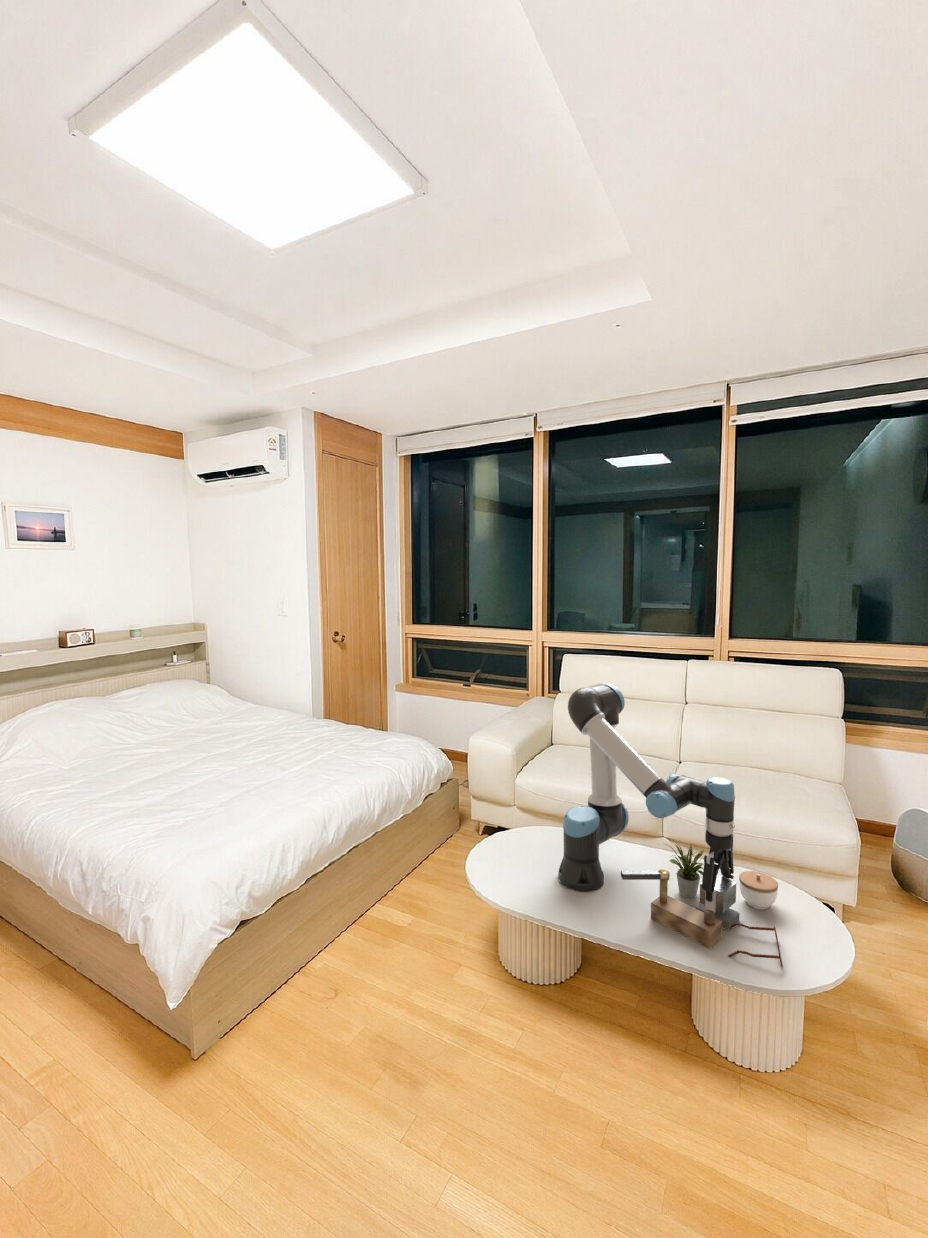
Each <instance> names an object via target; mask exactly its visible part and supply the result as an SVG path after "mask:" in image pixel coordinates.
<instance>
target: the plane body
mask: <svg viewBox="0 0 928 1238" xmlns="http://www.w3.org/2000/svg"><path fill="white" fill-rule="evenodd" d="M668 882H669V880H667V881H664V880H659V896H658V897H657V898H655V899H654V900H652V901H651V903H650V919H651V920H653V921H655V922H657V923H659V924H660V925H663V926H665V927H667V928H668V929H671V930H672V931H674V932H676V933H679V934H680V935H682V936H684V937H686V938H688V939H690V940H692V941H694V942H696V943H698V944H700V945H701V946H704V947H706V948H707V949H710V950H711V949H712V948H713V947H714V946H715V945H716V944H717V943H718V942H719V941H720V940H721V939H722V936H723V928H722V921H721V920H719V919H717V918H715V913H714V912H713V911H711V910H705V911H704V912H702V911H700V910H697V909H695V908H696V907H693V906H691V905H689V904H686V903H685V902H682V901H680V900H678V899H676V898H674V897H673V896H670V895H668V889H669V888H668V886H669V885H668Z"/></svg>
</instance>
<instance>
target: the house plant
mask: <svg viewBox="0 0 928 1238" xmlns="http://www.w3.org/2000/svg"><path fill="white" fill-rule="evenodd" d="M664 845H666V846H667V847H669V848H670V849H671V850H672V851H673V852H674V854H672V855H670V856H669V857H674V858H671V859H669V860H668V861H669V862H670V863H671V864H674V865H677V866H678V868H679V869H678V868H677V871H676V873H675V875H676V880H677V886H678V892H679V894H680V896H682V897H684V898H687V899H694V898H696V897H697V893H698V890H699V887H700V880H701V876H703V870H704V867H702V866H704V862H700V861H702V860H704V857H703V858H701V857H702V856H703V854H704V853H705V852H706V851H707V850H708V848H705V849H702V850H701V851H699V852H697V851H696V852H694V853H693V846H692V843H691V844H690V845H689V847H688V850H687V854H684V852H683V848H682V847H681V846H680V844H677V843H676V844H675V843H674V846H675V848H677V851H678V853H679V855H678V853H677V852H676V850H675V849H674V847H672V846H671V845H669V844H666V843H664ZM696 853H697V854H696ZM695 854H696V855H695ZM693 855H695V856H694V858H692V857H693ZM676 856H677V857H678V858H677V857H676ZM700 858H701V859H700ZM692 859H693V860H692ZM698 861H699V862H698ZM700 869H701V870H700ZM700 875H701V876H700Z"/></svg>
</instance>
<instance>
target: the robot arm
mask: <svg viewBox="0 0 928 1238" xmlns="http://www.w3.org/2000/svg"><path fill="white" fill-rule="evenodd" d="M624 708H625V697H624V695H623V693H622V691H621V690H620V689H619V688H618V687H617V686H616V685H614V684H611V683H607V682H606V683H597V684H594V685H589V686H586V687H581V688H578V689H576V690H575V691H574V692H572V694H571V695H570V696H569V698H568V702H567V711H568V715H569V717H570V720H571V722H572V723H573V724H574V726H575V727H576V728H577V730H578V731H579V732H580V733H581V734H582V735H583V736H588V737H589V745H590V747H589V750H590V753H589V754H590V772H591V773H590V775H591V776H590V777H591V779H590V780H591V794H590V795H589V796H588V797H587V805H581V806H575V807H571V808H570V809H568V810H567V811H566V812H565V814H564V816H563V823H562V827H563V857H562V859H561V863H560V865H559V868H558V876H557V877H558V881H559V882H560V884H561V885H562V886H563V887H565V888H567V889H570V890H573V891H574V892H575V891H576V892H582V893H586V892H587V893H588V892H594V891H598V890H599V889H601V888H603V886H604V884H605V874H604V871H603V869H602V865H601V862H600V853H599V852H600V845H601V844H604V843H606V842H607V841H609V840H610V839H613V838H615V837H617V836H618V835H620V834H622V832H624V831H625V830H626V829H627V826H628V824H629V819H630V818H629V816H630V815H629V811H628V808H626V807H625V803H623V800H622V798H621V796H620V795H618V789H617V786H618V785H617V782H618V781H617V768H618V769H619V770H620V771H621V773H622V774H623V775H624V776H625V777H626V778H627V779H628V780H629V782H631V783H632V784H633V786H634V787H635V788H636V789H637V790H638V791H639V792H640V793H641V794H642V796H644V797H645V798H646V799H645V806H646V808H647V811H648V812H649V813H650V815H652V816H653V817H655V818H658V819H664V818H668V817H671V816H672V815H675V813H676V812H678V811H680V810H682V809H684V808H686V807H687V806H690V805H693V806H697V807H700V808H703V809H705V834H704V835H705V838H704V840H705V843H706V844H707V845H708V846H709V847H710V848H709V852H708V855H706V854H704V857H703V858H704V859H703V863H704V865H703V869H702V872H703V875H702V878H701V879H702V880H701V882H702V887H701V888H702V889H703V890H706V892H705V909H707V910H711V911H713V912H714V913H715V905H716V891H715V890H714V889H715V884H716V880H717V875H719V871H720V873H721V875H720V876H721V877H724V878H726V879H729V880H733V879H734V875H733V874H735V873H734V872H735V871H734V870H735V869H734V867H735V866H734V856H733V855H734V854H733V848H734V829H736V828H735V827H736V825H735V824H734V823H735V822H734V821H735V820H734V819H735V817H734V815H735V800H736V796H735V795H736V794H735V784H734V783H733V781H732V780H729V779H727V778H725V777H718V776H711V777H708V778H707V779H706V781H703V780H700V779H695V778H693V777H690V776H686V775H684V774H677V773H672V774H670V775H669V776H668V778H667V779H666V781H665V780H664V779H663V778H662V777H661V776H660V775H659V774H658V773H657V772H656V770H654V769H653V768H652V766H651V765H650V764H648V762H647V761H646V760H645V759H644V758H643V757H642V756H641V755H640V753H638V752H637V751H636V750H635V749H634V748H633V747H632V746H631V745H630V744H629V743H628V742H627V740H626V739H624V737H623V736H622V735H621V734H620V733H619V732H618V731H617V730H616V729H615V728H616V727H617V726H618V725H619V724H620V717H619V715H620V714H621V713H622V712H623V710H624Z"/></svg>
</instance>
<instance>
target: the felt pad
mask: <svg viewBox="0 0 928 1238" xmlns="http://www.w3.org/2000/svg"><path fill="white" fill-rule="evenodd" d="M694 908H695V909H697V910H700V911H702V912H704V911H705V910H707V909H705V905H704V904H702V903H699V904H698V905H696V906H695V907H694ZM715 918H717V919H719V920H721V921H722V929H723V930H726V931H728V932H730V931H731V930H730V927H731V926H732V925H733V924H735V923H739V922H740V919H741V917H740V912H739V911H736V910H735V909H732V908H731V907H730V908H728V909H727V910H726V911H725V912H724V913H721V912H719V911H717V910H715Z"/></svg>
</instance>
